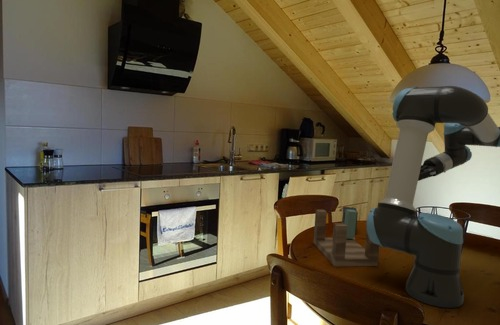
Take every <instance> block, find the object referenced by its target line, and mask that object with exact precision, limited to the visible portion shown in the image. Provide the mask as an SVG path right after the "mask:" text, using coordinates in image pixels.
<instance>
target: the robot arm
mask: <svg viewBox="0 0 500 325" xmlns="http://www.w3.org/2000/svg"><path fill="white" fill-rule="evenodd" d="M392 119H393V120H394V122H396V126H397V128H398V129H399V133H398V137H397V142H396V146H395V150H394V155H393V159H392V163H391V169H390V172H389V177H388V182H387V185H386V191H385V195H384V198H383V199H381V200H379V201H378V203H377V207H373V208H371V209H370V210H369V212H368V214H367V218H366V225H365V226H366V231H367V234H368V237H369V239H370V240H371V241H372V242H373V243H374V244H377V245H380V246H379V247H382V248H385V249H390V250H394V251H397V252H402V253H404V254H409V255H412V256H414V263H413V268H412V269H411V272H410V274H409V276H408V278H407V280H406V282H405V292H406V293H407V294H408V295H409V296H410V297H411V298H413V299H414V300H416V301H418V302H421V303H424V304H426V305H430V306H432V307H433V306H434V307H439V308H446V309H447V308H448V309H455V308H459V307H461V306H463V304H464V300H465V298H464V297H465V294H464V291H463V285H462V281H461V278H460V268H461V259H462V258H461V257H462V249H463V244H464V239H463V238H464V237H463V236H464V228H463V227H462V225H461V224H460V222H458V221H456V220H455V219H452V218H449V217H447V216H444V215H441V214H437V213H432V212H431V213H430V212H421V213H419V214H418V216H417V213H418V212H417V209H416V208H415V206H414V201H415V200H414V199H415V196H416V191H417V187H418V182H420V181H422V180H425V179H428V178H431V177H437V176H439V175H441V174H443V173H444V174H445V173H446V172H447V171H449V170H452V169H454V168H457V167H459V166H463V165H464V164H465V163H467V162H469V161H470V160H471V158H472V157H473V156H472V155H473V154H472V151H471V149H470V147H469V146H477V147H478V146H480V147H482V146H483V147H492V148H493V147H494V148H497V147H498V148H500V126H498V125H497V124H496V122H495V121H494V119H493V118H492V116H491V115H490V113H489V106H488V104H487V102H486V101H485V100H484V99H483V98H482V97H481V96H480V95H478V94H476V93H475V92H473V91H471V90H469V89H466V88H463V87H460V86H456V85H455V86H454V85H445V86H442V85H441V86H423V87H419V86H415V87H410V88H409V87H408V88H404V89H402V90H400V92H399V93H398V94H397V95H396V97H395V98H394V101H393V105H392ZM436 124H444V125H443V144H444V145H443V146H444V151H443V152H440V153H438V154H436V155H433V156H431V157H429V158H427V159H425V160H424V161H423V158H424V155H425V154H424V153H425V149H426V144H427V141H428V135H429V134H430V133H432V132H434V130H435V128H436Z"/></svg>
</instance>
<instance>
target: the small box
mask: <svg viewBox="0 0 500 325" xmlns="http://www.w3.org/2000/svg"><path fill="white" fill-rule="evenodd" d="M346 209H347V210H355V211H357V218H356V227H355V235H357V225H358V214H359V213H358V210H357V208H356V207H349V206H343V207H342V218H341V223H344V220H345V211H346Z"/></svg>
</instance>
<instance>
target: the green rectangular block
mask: <svg viewBox="0 0 500 325" xmlns="http://www.w3.org/2000/svg"><path fill="white" fill-rule="evenodd" d="M357 212H358V210H357V211H355V210H347V209H346V211H345V220H344V224H345V225H346V226H347V235H346V238H348V239H353V240H354V241H355V240H356V238H355V235H356V234H355V227H356V218H357V219H358V216H357Z"/></svg>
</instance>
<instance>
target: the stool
mask: <svg viewBox="0 0 500 325" xmlns="http://www.w3.org/2000/svg"><path fill="white" fill-rule="evenodd" d="M327 212H328V211H326V209H319V208H318V209H315V214H314V228H313V230H314V231H313V234H314V235H313V244H314V246H315V248H317V249H318V250H319V251H320V252H321V254H322V255H323V256H324V257H325V258H326V259H327V260H328V261H329V262H330V264H332V266H334V267H378V266H379V258H380V257H379V256H380V247H381V246H380V245H377V244H374V243H373V242H372V241H371V240H370V239H369V237H368V234H367V230H365V231H366V235H365V247H363V246H362V245H361V244H359V243H358V242H357V241H355V240H354V239H348V238H346V235H347V226H346V225H345V224H344V223H342V222H334V223H333V230H332V231H333V232H332V237H326V228H327V214H328V213H327Z"/></svg>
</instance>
